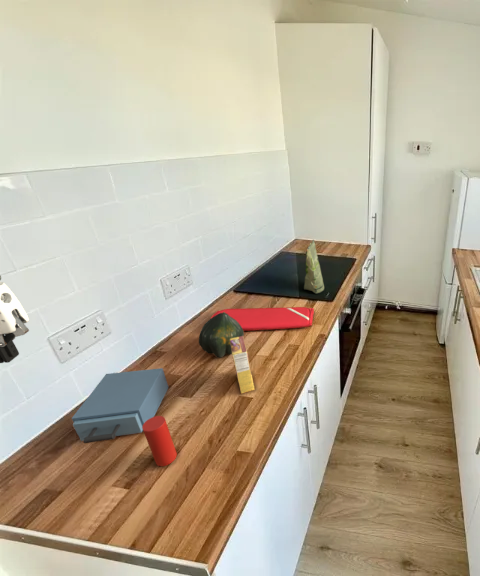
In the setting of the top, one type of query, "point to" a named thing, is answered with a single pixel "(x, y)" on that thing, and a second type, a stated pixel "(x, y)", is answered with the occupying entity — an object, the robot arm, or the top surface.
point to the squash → (219, 334)
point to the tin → (159, 440)
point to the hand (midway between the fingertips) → (9, 358)
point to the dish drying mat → (271, 317)
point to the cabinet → (126, 395)
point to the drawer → (107, 427)
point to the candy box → (241, 364)
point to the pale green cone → (313, 270)
